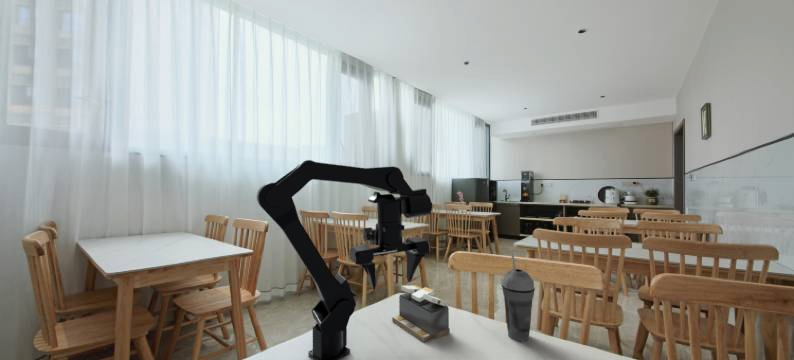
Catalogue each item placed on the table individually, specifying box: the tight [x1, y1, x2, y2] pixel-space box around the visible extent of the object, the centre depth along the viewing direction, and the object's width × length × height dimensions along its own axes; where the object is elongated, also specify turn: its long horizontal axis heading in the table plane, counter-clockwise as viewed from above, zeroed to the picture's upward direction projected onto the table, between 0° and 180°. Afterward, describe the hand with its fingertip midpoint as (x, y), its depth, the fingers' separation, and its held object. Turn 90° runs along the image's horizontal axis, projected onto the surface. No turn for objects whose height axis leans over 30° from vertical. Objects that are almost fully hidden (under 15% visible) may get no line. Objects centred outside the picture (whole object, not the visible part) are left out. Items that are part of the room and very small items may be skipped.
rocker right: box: [423, 294, 447, 306], centre depth 73 cm, size 5×3×1 cm
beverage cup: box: [501, 250, 536, 342], centre depth 71 cm, size 7×7×20 cm
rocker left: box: [400, 285, 423, 293], centre depth 81 cm, size 5×3×1 cm
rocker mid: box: [411, 286, 435, 302], centre depth 77 cm, size 5×3×1 cm
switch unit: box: [391, 292, 451, 343], centre depth 76 cm, size 8×13×6 cm, turn 34°
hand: (391, 285), depth 72 cm, fingers open, 9 cm apart
